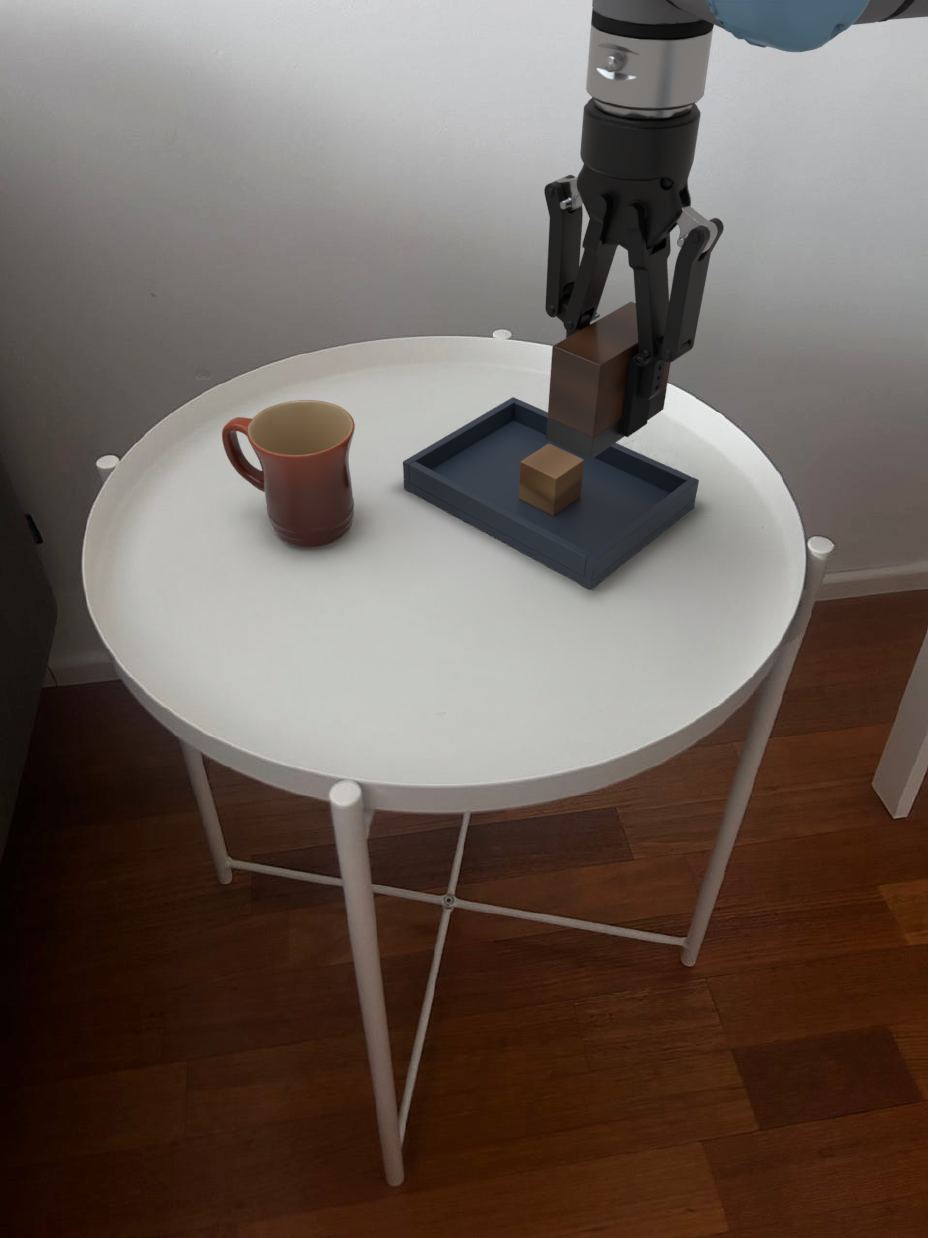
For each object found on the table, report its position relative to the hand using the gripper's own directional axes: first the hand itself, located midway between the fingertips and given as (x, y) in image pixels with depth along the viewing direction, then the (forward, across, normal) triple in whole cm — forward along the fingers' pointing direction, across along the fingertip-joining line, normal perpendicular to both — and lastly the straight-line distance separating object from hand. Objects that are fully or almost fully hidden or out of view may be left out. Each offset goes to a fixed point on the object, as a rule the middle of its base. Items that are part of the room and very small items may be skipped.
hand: (606, 416), depth 81 cm
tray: (+12, -6, +2) cm, 13 cm away
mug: (+12, -20, -16) cm, 29 cm away
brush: (+1, 0, 0) cm, 1 cm away
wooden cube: (+11, -5, 0) cm, 12 cm away
